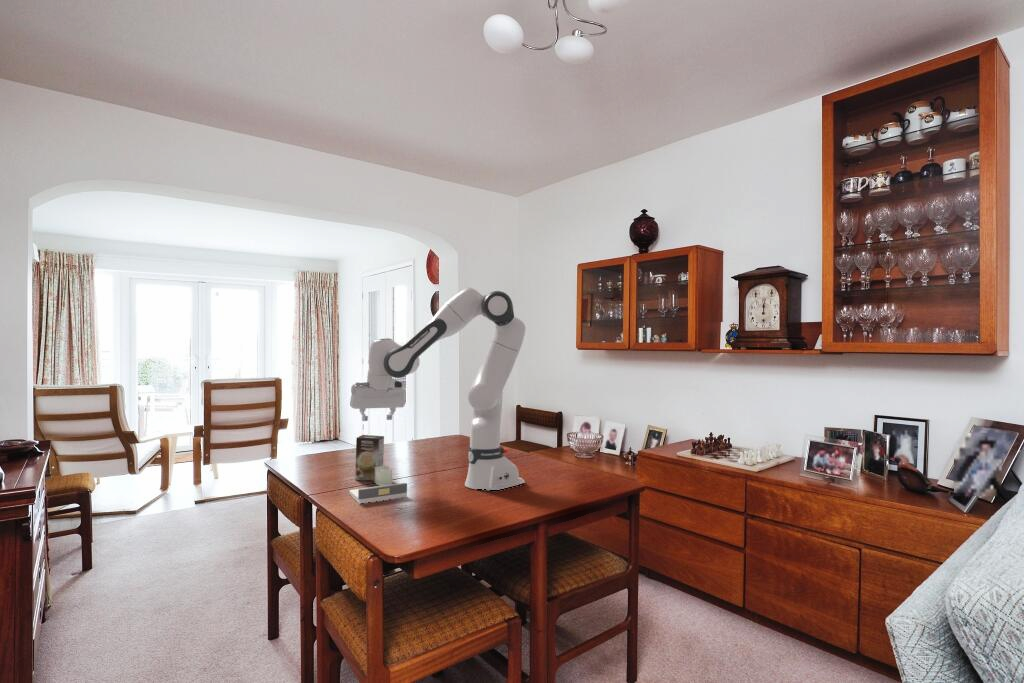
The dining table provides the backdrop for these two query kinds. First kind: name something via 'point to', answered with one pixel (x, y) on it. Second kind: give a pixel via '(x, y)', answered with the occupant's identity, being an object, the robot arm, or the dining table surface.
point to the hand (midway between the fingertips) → (377, 420)
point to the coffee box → (368, 456)
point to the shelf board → (379, 493)
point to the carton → (383, 475)
